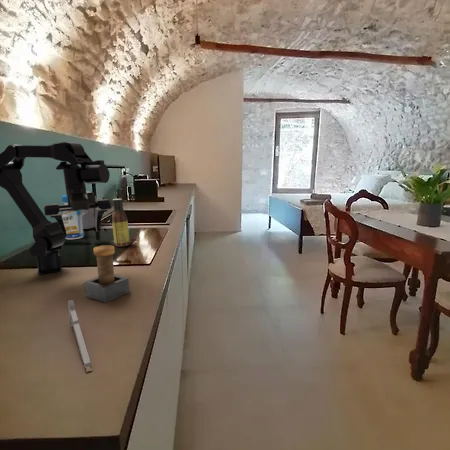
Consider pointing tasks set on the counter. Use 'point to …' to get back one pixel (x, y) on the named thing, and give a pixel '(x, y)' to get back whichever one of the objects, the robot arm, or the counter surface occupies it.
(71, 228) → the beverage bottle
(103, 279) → the pin
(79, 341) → the caliper
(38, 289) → the counter surface
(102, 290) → the socket block
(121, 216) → the sauce bottle
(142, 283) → the counter surface
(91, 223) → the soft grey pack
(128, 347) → the counter surface
